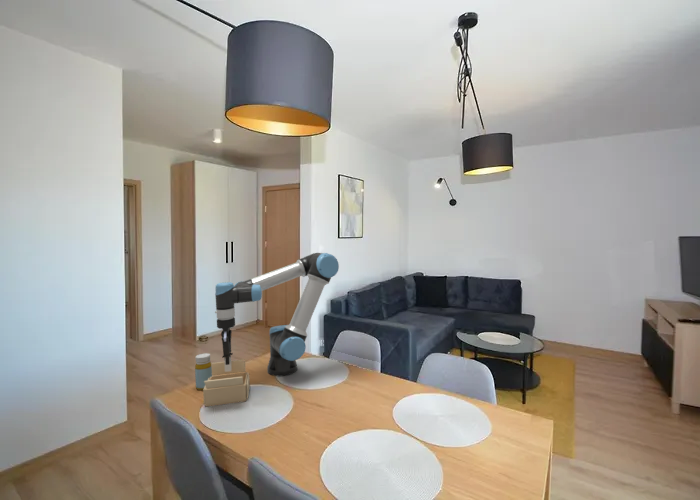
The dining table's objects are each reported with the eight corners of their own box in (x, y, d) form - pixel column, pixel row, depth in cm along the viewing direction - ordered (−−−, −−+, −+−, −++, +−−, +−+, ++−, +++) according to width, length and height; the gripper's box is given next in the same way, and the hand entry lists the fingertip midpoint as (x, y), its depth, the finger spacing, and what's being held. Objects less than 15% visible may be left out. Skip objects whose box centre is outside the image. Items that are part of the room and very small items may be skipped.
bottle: (208, 390, 153) (207, 358, 153) (193, 390, 153) (191, 358, 153) (214, 384, 160) (213, 352, 160) (200, 384, 160) (198, 353, 160)
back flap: (244, 360, 153) (245, 359, 153) (211, 363, 149) (211, 363, 150) (245, 371, 154) (245, 371, 155) (212, 375, 151) (212, 374, 152)
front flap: (204, 380, 134) (204, 381, 134) (242, 376, 137) (242, 377, 137) (206, 387, 138) (206, 388, 138) (243, 383, 142) (243, 384, 141)
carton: (249, 387, 156) (249, 372, 155) (247, 401, 142) (247, 384, 142) (209, 392, 152) (208, 376, 151) (203, 407, 138) (202, 390, 138)
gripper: (218, 315, 154) (221, 366, 155) (214, 322, 141) (217, 377, 142) (236, 314, 155) (238, 364, 156) (233, 320, 143) (235, 375, 144)
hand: (228, 370), depth 149 cm, fingers closed
